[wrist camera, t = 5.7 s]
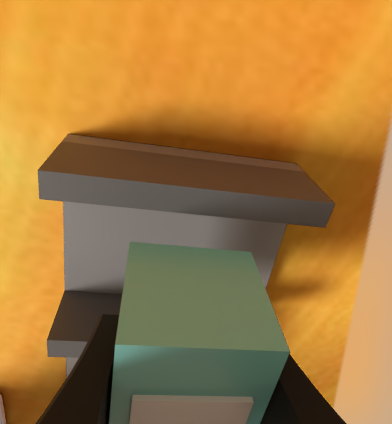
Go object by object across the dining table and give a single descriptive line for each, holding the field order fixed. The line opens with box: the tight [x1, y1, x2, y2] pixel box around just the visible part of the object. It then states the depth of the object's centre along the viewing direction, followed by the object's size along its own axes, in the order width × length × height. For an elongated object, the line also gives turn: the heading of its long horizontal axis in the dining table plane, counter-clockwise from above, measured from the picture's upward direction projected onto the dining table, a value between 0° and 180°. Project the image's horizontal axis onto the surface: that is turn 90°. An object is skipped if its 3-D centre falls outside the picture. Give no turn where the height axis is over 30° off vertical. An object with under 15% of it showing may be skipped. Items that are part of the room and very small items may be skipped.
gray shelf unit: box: [38, 134, 335, 379], centre depth 17 cm, size 10×16×4 cm, turn 171°
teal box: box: [109, 242, 290, 424], centre depth 11 cm, size 4×5×4 cm
